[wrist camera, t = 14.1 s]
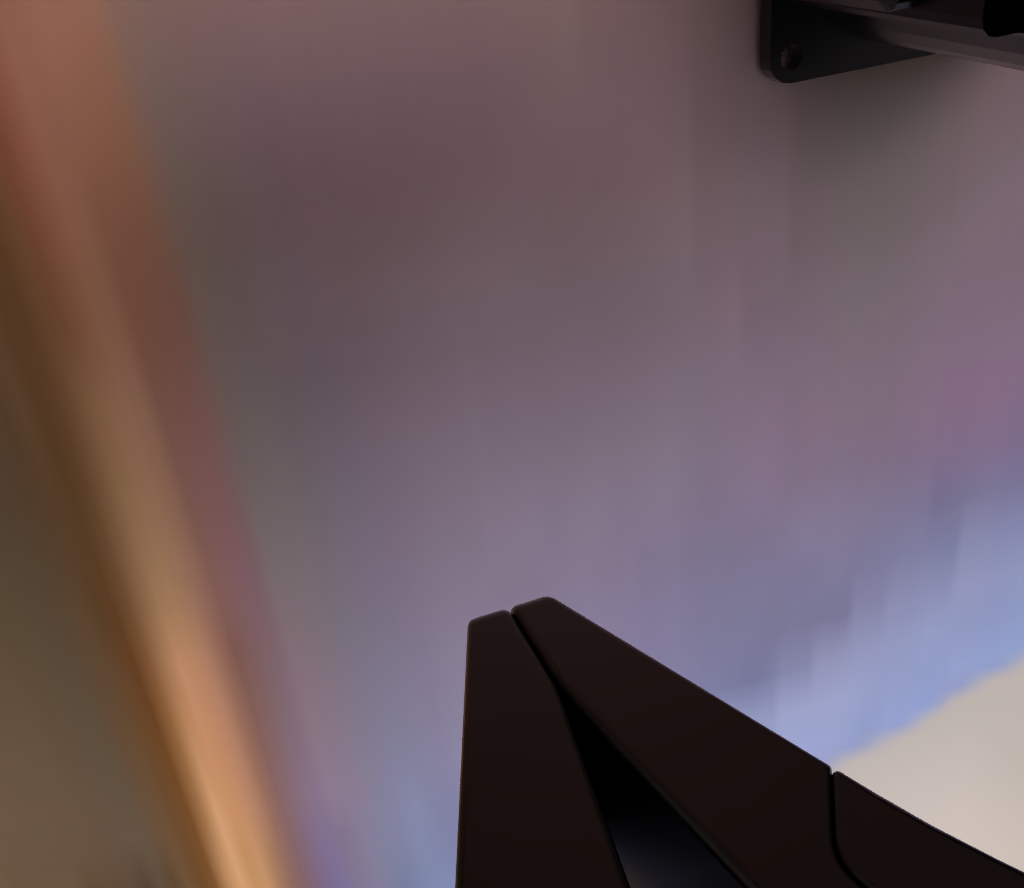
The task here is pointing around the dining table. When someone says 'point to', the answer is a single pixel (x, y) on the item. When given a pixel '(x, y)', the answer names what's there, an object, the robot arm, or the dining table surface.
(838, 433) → the dining table surface
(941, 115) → the dining table surface
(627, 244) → the dining table surface
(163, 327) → the dining table surface
